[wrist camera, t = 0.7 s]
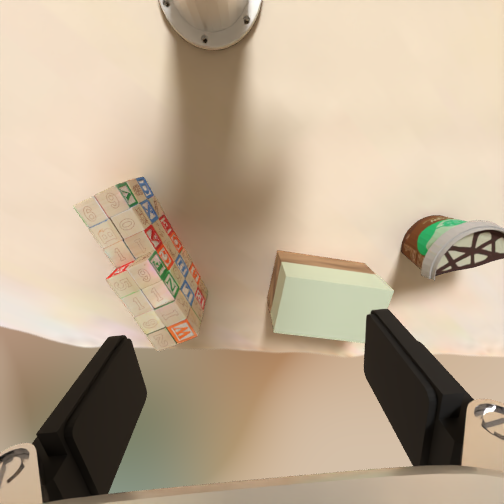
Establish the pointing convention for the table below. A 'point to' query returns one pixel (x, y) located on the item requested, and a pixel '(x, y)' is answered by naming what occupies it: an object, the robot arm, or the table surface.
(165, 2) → the robot arm
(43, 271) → the table surface
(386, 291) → the tower top slab
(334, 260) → the tower base slab
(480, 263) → the food container
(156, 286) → the stack of blocks
